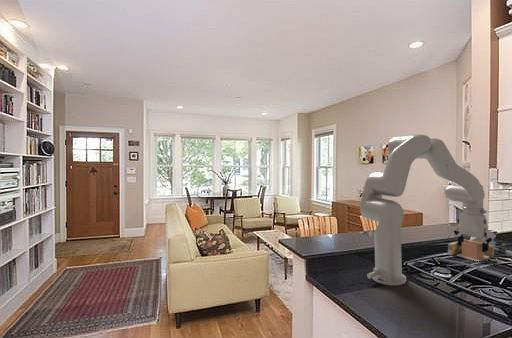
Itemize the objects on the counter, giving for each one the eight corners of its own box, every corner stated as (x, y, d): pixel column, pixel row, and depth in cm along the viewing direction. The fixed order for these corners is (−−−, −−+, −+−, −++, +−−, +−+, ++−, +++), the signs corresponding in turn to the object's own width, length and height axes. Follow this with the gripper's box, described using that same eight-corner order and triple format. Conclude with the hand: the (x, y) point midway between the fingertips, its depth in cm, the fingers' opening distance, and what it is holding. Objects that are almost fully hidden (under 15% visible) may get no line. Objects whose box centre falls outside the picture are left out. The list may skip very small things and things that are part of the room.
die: (490, 248, 142) (475, 230, 146) (502, 244, 134) (486, 225, 138) (476, 256, 141) (461, 237, 145) (487, 253, 133) (471, 233, 137)
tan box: (477, 263, 124) (477, 251, 124) (448, 254, 135) (447, 243, 135) (494, 256, 130) (494, 245, 130) (464, 248, 141) (464, 238, 141)
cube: (484, 256, 130) (484, 243, 130) (476, 259, 127) (476, 245, 127) (469, 252, 135) (469, 239, 135) (461, 255, 133) (461, 242, 132)
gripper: (500, 213, 124) (499, 252, 125) (457, 207, 139) (457, 241, 140) (490, 215, 121) (490, 255, 122) (447, 209, 136) (447, 244, 137)
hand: (472, 248), depth 131 cm, fingers open, 9 cm apart
